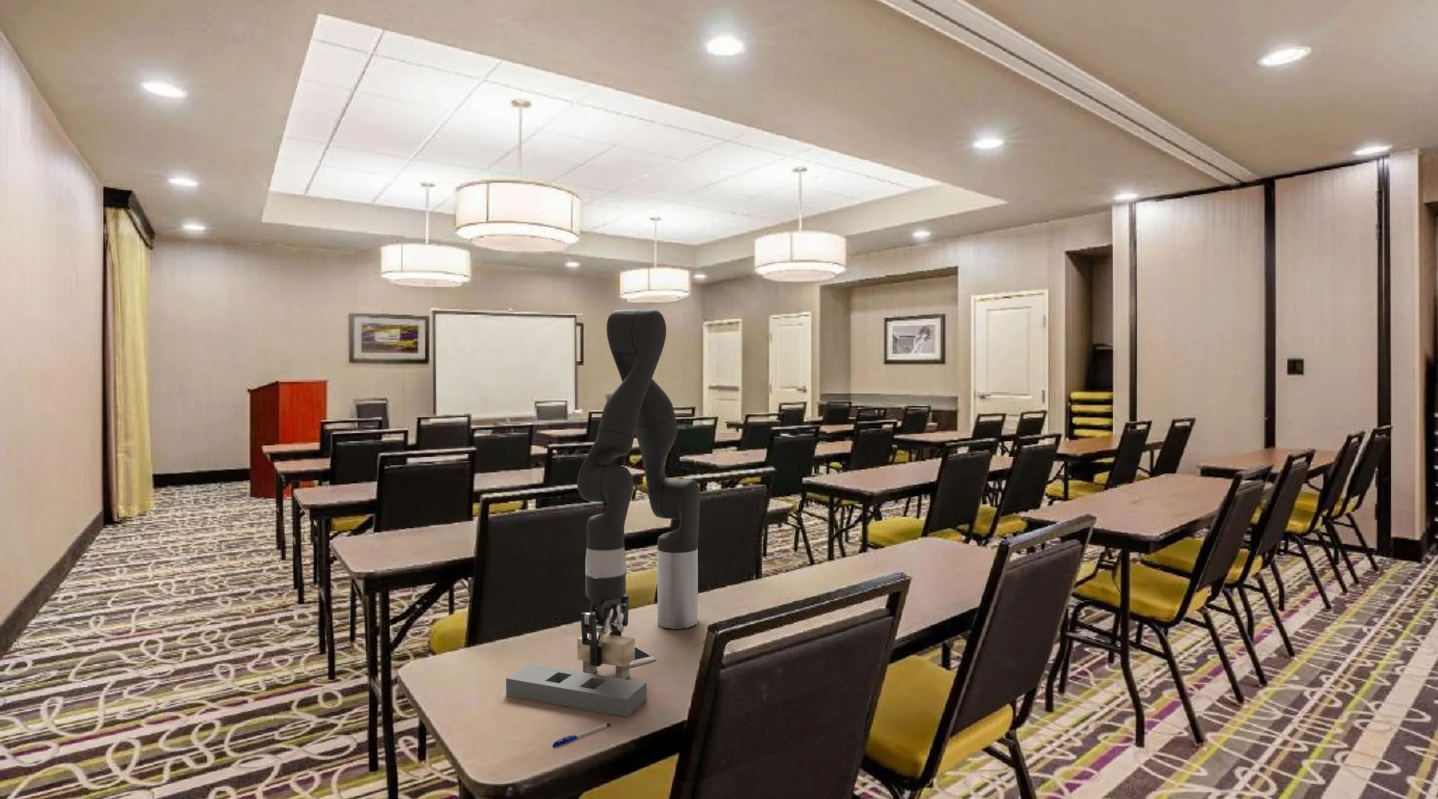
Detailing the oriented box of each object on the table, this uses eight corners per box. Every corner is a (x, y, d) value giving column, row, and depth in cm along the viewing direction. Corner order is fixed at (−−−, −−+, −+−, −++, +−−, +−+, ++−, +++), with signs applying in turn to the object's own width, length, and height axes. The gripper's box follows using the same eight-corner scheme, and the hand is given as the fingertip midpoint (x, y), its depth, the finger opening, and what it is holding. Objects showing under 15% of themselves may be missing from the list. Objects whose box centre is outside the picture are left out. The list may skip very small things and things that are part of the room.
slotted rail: (506, 695, 129) (506, 678, 129) (530, 679, 136) (530, 663, 136) (626, 717, 121) (626, 699, 121) (646, 699, 127) (646, 682, 127)
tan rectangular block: (577, 675, 138) (577, 638, 138) (588, 668, 142) (588, 632, 142) (624, 683, 134) (624, 645, 134) (634, 675, 138) (634, 638, 138)
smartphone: (619, 640, 158) (619, 636, 158) (656, 662, 146) (656, 657, 146) (589, 647, 154) (589, 643, 154) (624, 670, 142) (624, 665, 142)
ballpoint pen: (554, 750, 110) (555, 743, 110) (551, 747, 111) (551, 741, 111) (611, 727, 118) (611, 720, 118) (608, 725, 118) (608, 719, 118)
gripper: (607, 560, 146) (607, 643, 146) (567, 578, 132) (567, 669, 133) (641, 563, 143) (641, 648, 143) (603, 582, 130) (604, 675, 130)
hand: (606, 658), depth 138 cm, fingers open, 6 cm apart
